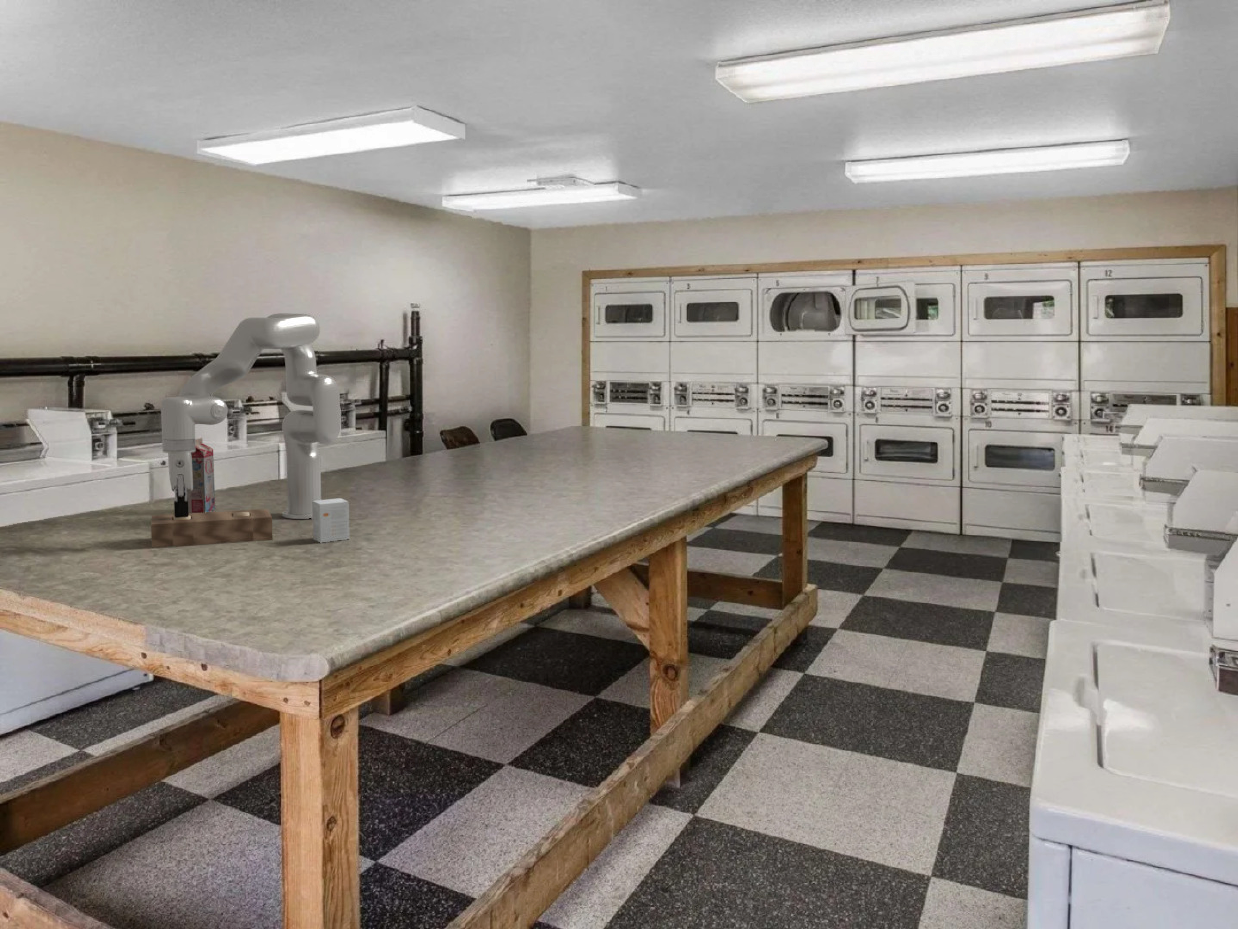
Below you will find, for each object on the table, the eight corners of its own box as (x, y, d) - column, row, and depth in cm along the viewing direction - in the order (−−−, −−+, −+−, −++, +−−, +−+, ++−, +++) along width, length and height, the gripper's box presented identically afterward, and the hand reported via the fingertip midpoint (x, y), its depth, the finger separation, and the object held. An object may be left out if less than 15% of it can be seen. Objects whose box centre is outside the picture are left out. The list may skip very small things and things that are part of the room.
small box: (341, 536, 235) (341, 497, 234) (349, 540, 231) (349, 501, 229) (312, 539, 230) (311, 500, 229) (319, 543, 226) (319, 503, 225)
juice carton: (215, 509, 265) (212, 438, 262) (205, 514, 258) (202, 440, 255) (193, 509, 265) (190, 437, 262) (183, 513, 258) (180, 440, 255)
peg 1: (191, 536, 227) (190, 514, 226) (191, 539, 223) (190, 517, 223) (174, 537, 225) (173, 515, 224) (174, 540, 221) (173, 518, 221)
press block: (267, 530, 239) (267, 509, 238) (272, 539, 229) (272, 517, 228) (152, 538, 226) (151, 515, 225) (151, 548, 216) (150, 524, 215)
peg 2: (249, 532, 233) (248, 511, 232) (250, 535, 230) (250, 514, 229) (233, 533, 231) (232, 512, 231) (234, 536, 228) (233, 515, 227)
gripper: (196, 448, 216) (198, 521, 218) (194, 442, 229) (196, 510, 232) (162, 449, 213) (165, 523, 215) (162, 443, 226) (165, 512, 228)
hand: (181, 516), depth 223 cm, fingers closed
